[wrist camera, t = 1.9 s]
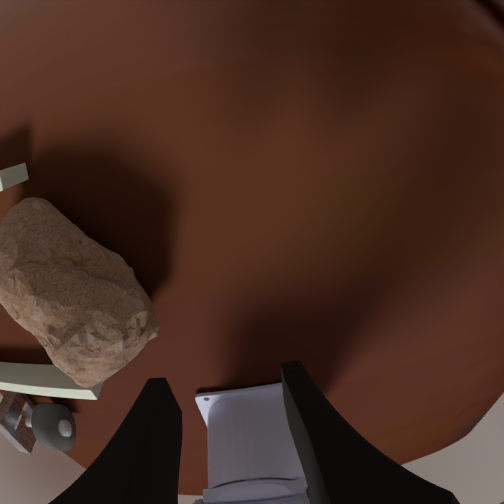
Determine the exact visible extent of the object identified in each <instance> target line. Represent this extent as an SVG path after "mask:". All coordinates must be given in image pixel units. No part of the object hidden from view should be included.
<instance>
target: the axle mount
mask: <svg viewBox="0 0 504 504" xmlns="http://www.w3.org/2000/svg"><path fill="white" fill-rule="evenodd" d="M35 407H36V406H35V405H34V404H33V402H32V401H31V400H30V399H29V397H28V396H27V395H26V393H20V392H14V391H8V390H7V391H6V393H5V395H4V397H3V399H2V401H1V403H0V432H1V433H2V434H3V435H4V436H5V437H6V438H7V439H8V440H9V441H10V442H11V443H12V444H13V445H14V446H15V447H16V448H17V449H18V450H19V451H22V452H25V453H28V454H31V452H32V449H33V446H34V443H35V441H36V438H35V436H34V434H33V431H32V427H28V426H27V425H26V424H25V418H26V417H32V413H33V410H34V408H35ZM22 409H23V410H24V413H23V415H22V417H21V420H20V422H19V424H18V426H17V429H16V430H15V429H14V427H15V425H16V422H17V420H18V418H19V416H20V414H21V411H22Z"/></svg>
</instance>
